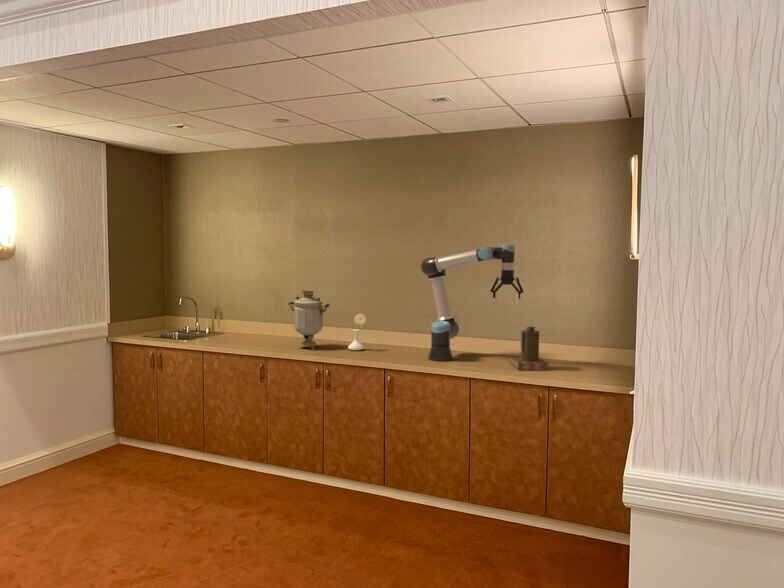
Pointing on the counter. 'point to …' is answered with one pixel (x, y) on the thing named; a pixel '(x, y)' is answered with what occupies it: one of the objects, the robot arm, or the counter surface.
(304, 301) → the samovar
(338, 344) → the counter surface
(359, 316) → the flower in vase
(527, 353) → the canister
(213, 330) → the counter surface
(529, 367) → the walnut base
